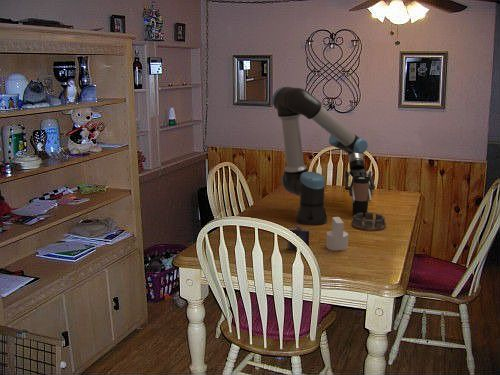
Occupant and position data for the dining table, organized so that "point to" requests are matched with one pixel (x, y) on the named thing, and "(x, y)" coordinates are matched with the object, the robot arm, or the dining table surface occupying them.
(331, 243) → the base with upright slab
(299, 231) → the flask
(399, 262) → the dining table surface
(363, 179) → the travel mug
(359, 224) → the ring collar holder
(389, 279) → the dining table surface
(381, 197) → the dining table surface
